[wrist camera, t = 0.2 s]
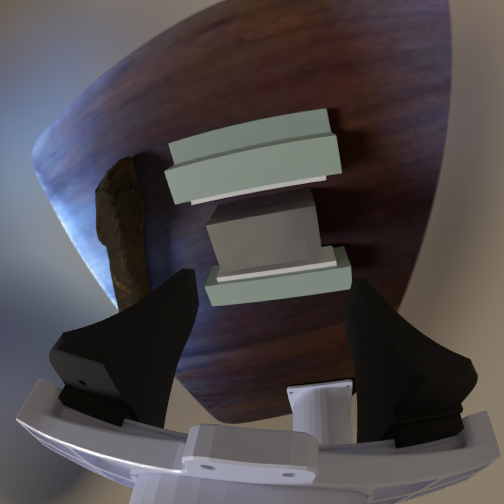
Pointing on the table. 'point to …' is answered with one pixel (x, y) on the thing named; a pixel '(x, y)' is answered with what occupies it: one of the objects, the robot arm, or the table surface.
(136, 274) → the brown wooden log
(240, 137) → the pale green bar
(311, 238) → the block
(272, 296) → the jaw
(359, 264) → the table surface
